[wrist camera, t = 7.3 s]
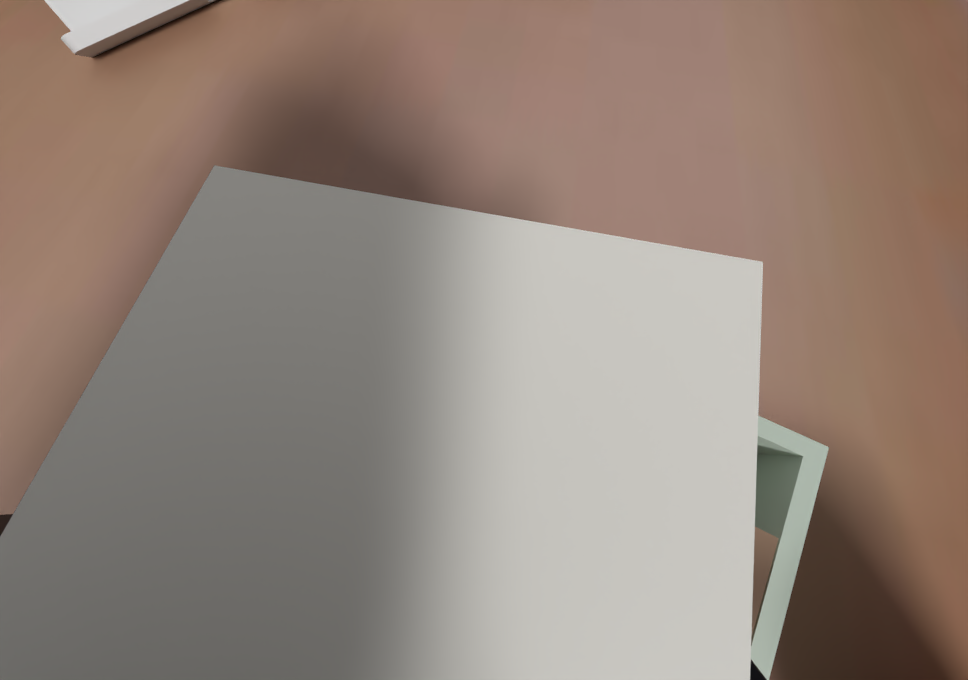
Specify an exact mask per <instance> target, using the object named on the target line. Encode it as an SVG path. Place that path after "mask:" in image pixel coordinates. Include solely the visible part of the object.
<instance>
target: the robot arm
mask: <svg viewBox="0 0 968 680" xmlns="http://www.w3.org/2000/svg"><path fill="white" fill-rule="evenodd" d="M12 515H13V514H6V515H0V536H1V534H2V533H3V531H4V529H5V527H6V526H7V524H8V522H9V520H10V519H11V517H12ZM750 680H767V679H766V678H765V677H764V675H763V674H762V673H761V671H760V670H759V669H758V668H757V666H756V665H755V664H754V662H753V661H752V660H751V667H750Z"/></svg>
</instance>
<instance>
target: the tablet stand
mask: <svg viewBox="0 0 968 680" xmlns="http://www.w3.org/2000/svg"><path fill="white" fill-rule="evenodd" d="M214 1H216V0H45V2H46V3H47V4H48V5H49V6H50V7H51V8H52V10H53V11H54V12H55V13H56V14H57V15H58V17H59V18H60V19H61V20H62V21H63V22H64V23H65V25H66V26H67V27H68V28H69V29H70V30H71V32H69V33H67V34H65V35H63V36H62V37H61V40H62V41H63V42H64V43H65V44H66V45H67V46H68V47H69V49H70V50H71V51H72V52H73V53H74V54H75V55H80V56H86V57H94V56H96V55H99V54H101V53H103V52H105V51H107V50H109V49H112V48H114V47H116V46H118V45H120V44H123V43H125V42H127V41H129V40H131V39H133V38H136V37H138V36H140V35H142V34H144V33H147V32H149V31H151V30H153V29H155V28H158V27H160V26H162V25H164V24H166V23H168V22H171V21H173V20H175V19H177V18H179V17H182V16H184V15H186V14H188V13H190V12H192V11H195V10H197V9H199V8H201V7H203V6H206V5H208V4H210V3H212V2H214Z"/></svg>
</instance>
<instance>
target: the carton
mask: <svg viewBox="0 0 968 680" xmlns="http://www.w3.org/2000/svg"><path fill="white" fill-rule="evenodd" d="M762 276H763V262H760V261H754V260H749V259H743V258H737V257H731V256H726V255H720V254H714V253H709V252H703V251H697V250H692V249H686V248H680V247H675V246H669V245H663V244H658V243H652V242H646V241H641V240H635V239H629V238H624V237H618V236H612V235H607V234H601V233H595V232H589V231H584V230H578V229H572V228H567V227H561V226H555V225H550V224H544V223H538V222H533V221H527V220H521V219H516V218H510V217H504V216H499V215H493V214H487V213H482V212H476V211H470V210H465V209H459V208H453V207H448V206H442V205H436V204H430V203H425V202H419V201H413V200H408V199H402V198H396V197H391V196H385V195H379V194H374V193H368V192H362V191H357V190H351V189H345V188H340V187H334V186H328V185H323V184H317V183H311V182H306V181H300V180H294V179H288V178H283V177H277V176H271V175H266V174H260V173H254V172H249V171H243V170H237V169H232V168H226V167H220V166H215V165H214V167H213V169H212V171H211V172H210V174H209V176H208V177H207V179H206V181H205V183H204V184H203V186H202V188H201V190H200V191H199V193H198V195H197V197H196V198H195V200H194V202H193V203H192V205H191V207H190V209H189V210H188V212H187V214H186V216H185V217H184V219H183V221H182V223H181V224H180V226H179V228H178V229H177V231H176V233H175V235H174V236H173V238H172V240H171V242H170V243H169V245H168V247H167V248H166V250H165V252H164V254H163V255H162V257H161V259H160V261H159V262H158V264H157V266H156V268H155V269H154V271H153V273H152V274H151V276H150V278H149V280H148V281H147V283H146V285H145V287H144V288H143V290H142V292H141V294H140V295H139V297H138V299H137V300H136V302H135V304H134V306H133V307H132V309H131V311H130V313H129V314H128V316H127V318H126V320H125V321H124V323H123V325H122V326H121V328H120V330H119V332H118V333H117V335H116V337H115V339H114V340H113V342H112V344H111V346H110V347H109V349H108V351H107V352H106V354H105V356H104V358H103V359H102V361H101V363H100V365H99V366H98V368H97V370H96V372H95V373H94V375H93V377H92V378H91V380H90V382H89V384H88V385H87V387H86V389H85V391H84V392H83V394H82V396H81V397H80V399H79V401H78V403H77V404H76V406H75V408H74V410H73V411H72V413H71V415H70V417H69V418H68V420H67V422H66V423H65V425H64V427H63V429H62V430H61V432H60V434H59V436H58V437H57V439H56V441H55V443H54V444H53V446H52V448H51V449H50V451H49V453H48V455H47V456H46V458H45V460H44V462H43V463H42V465H41V467H40V469H39V470H38V472H37V474H36V475H35V477H34V479H33V481H32V482H31V484H30V486H29V488H28V489H27V491H26V493H25V495H24V496H23V498H22V500H21V501H20V503H19V505H18V507H17V508H16V510H15V512H14V514H13V515H12V517H11V519H10V520H9V522H8V524H7V526H6V527H5V529H4V531H3V533H2V534H1V536H0V680H750V667H751V634H752V602H753V569H754V537H755V504H756V472H757V439H758V406H759V374H760V341H761V309H762Z"/></svg>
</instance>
